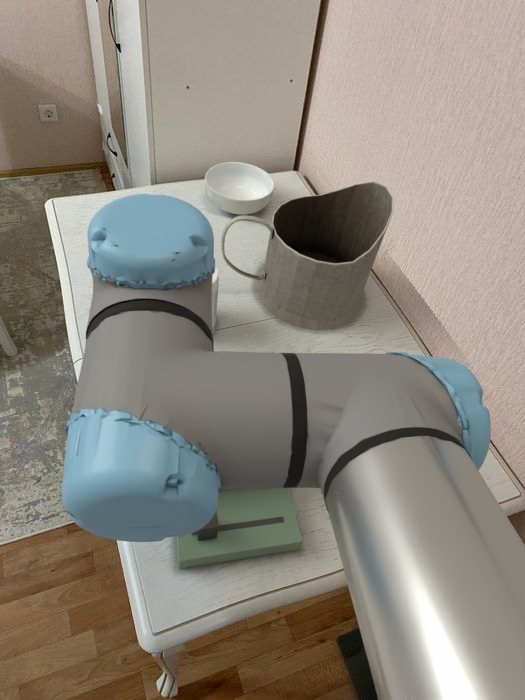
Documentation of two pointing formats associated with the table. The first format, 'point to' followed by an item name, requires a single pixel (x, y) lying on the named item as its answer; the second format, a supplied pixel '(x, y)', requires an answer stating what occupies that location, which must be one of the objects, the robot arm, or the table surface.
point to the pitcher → (321, 254)
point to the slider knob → (209, 529)
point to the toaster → (245, 528)
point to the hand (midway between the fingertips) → (163, 498)
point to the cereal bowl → (239, 187)
